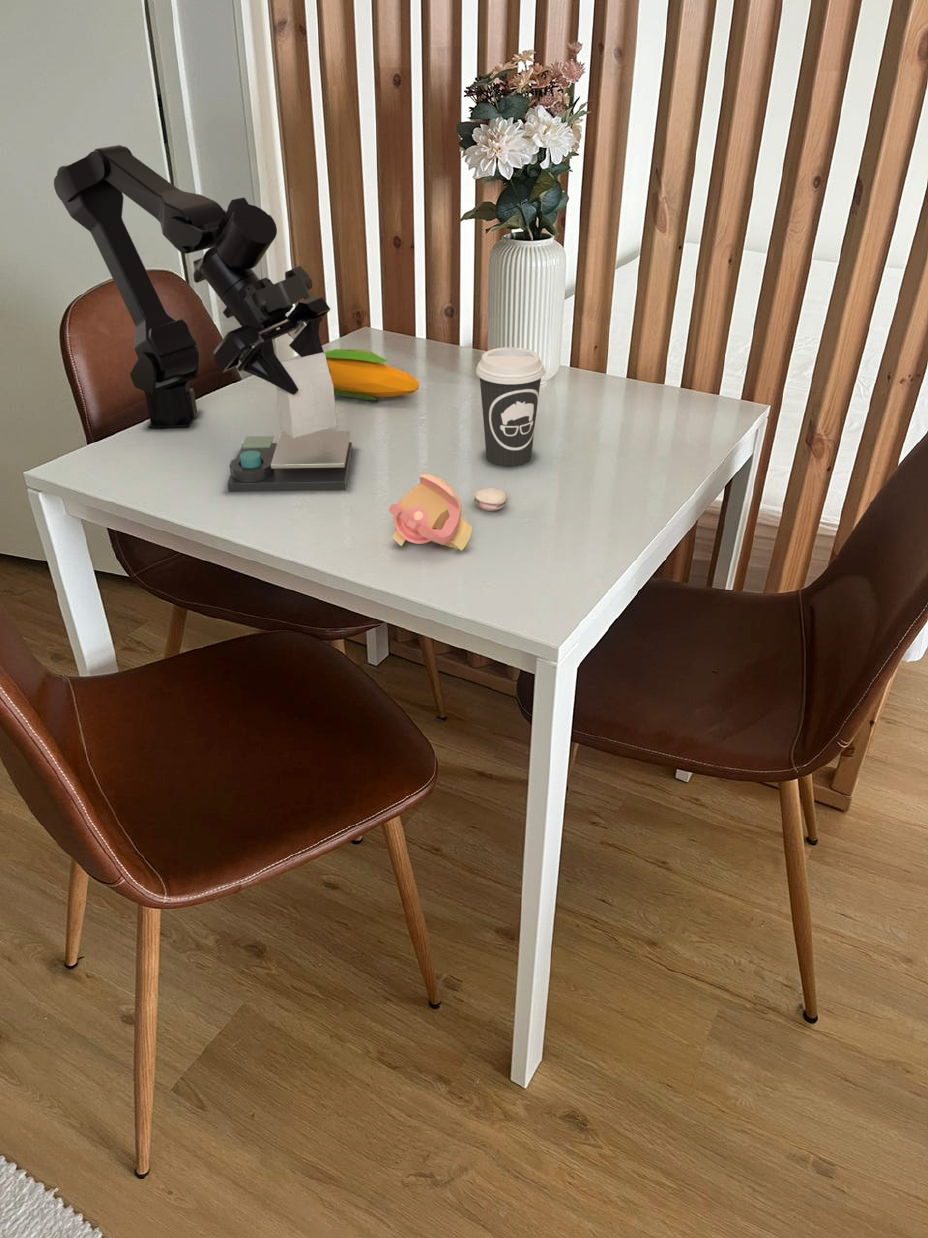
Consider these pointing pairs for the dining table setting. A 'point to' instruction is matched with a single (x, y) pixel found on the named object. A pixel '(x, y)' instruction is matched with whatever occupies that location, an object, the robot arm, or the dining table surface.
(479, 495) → the macaroon
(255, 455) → the button
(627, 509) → the dining table surface
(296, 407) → the tea bag
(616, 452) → the dining table surface
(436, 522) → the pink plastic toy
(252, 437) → the scale display
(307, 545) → the dining table surface
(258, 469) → the scale
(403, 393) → the corn
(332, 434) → the scale pan
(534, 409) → the coffee cup
